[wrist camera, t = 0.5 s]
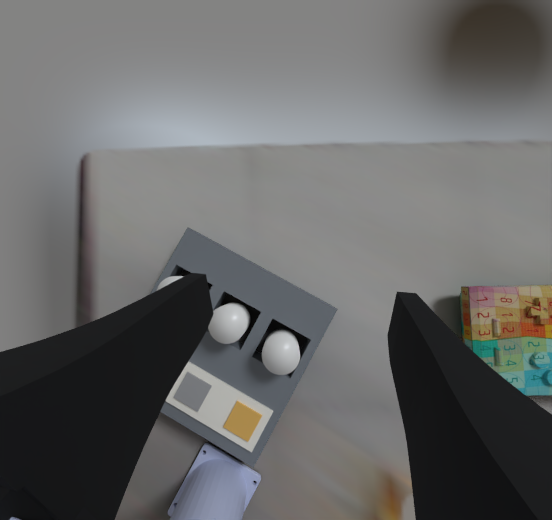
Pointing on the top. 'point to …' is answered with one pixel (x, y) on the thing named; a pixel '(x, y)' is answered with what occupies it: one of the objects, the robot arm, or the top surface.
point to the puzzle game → (511, 332)
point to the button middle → (229, 322)
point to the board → (240, 351)
